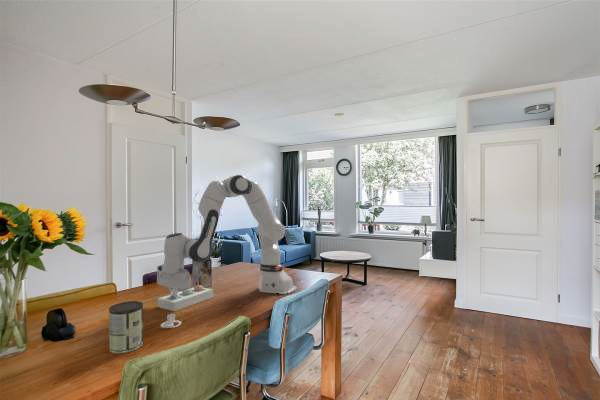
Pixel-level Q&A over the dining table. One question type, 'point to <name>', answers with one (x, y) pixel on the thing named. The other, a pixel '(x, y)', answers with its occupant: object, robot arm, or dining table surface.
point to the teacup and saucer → (170, 322)
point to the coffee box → (202, 273)
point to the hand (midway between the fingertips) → (173, 296)
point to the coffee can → (125, 326)
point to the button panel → (185, 299)
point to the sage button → (186, 292)
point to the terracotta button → (198, 288)
